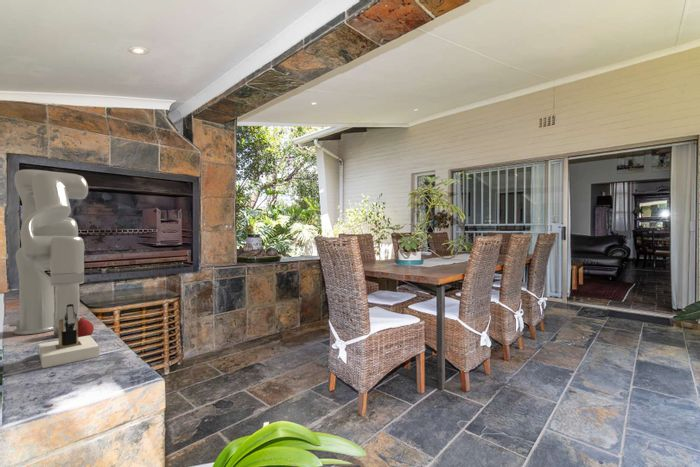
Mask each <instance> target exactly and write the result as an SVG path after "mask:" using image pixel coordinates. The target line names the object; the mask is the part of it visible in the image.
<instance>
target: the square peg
mask: <svg viewBox="0 0 700 467" xmlns="http://www.w3.org/2000/svg"><path fill="white" fill-rule="evenodd" d="M75 318H77V317H75ZM65 320H68V319H67V318H65ZM78 321H79V317H78V318H77V319H76V332H77V343H76V344H72V345H66V346H62V331H63V319H62V320H60V321H58V322H59V337H58V341H59V349H61V348H67V347H72V346H78ZM66 323H67V322H66Z"/></svg>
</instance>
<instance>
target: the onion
mask: <svg viewBox="0 0 700 467" xmlns="http://www.w3.org/2000/svg"><path fill="white" fill-rule="evenodd" d="M94 330H95V329H94V324H93V323H92V322H91V321H89V320H88V319H86V317H85V316H81V317H80V319H78V337H83V336H89V335H90V336H92V334H93V333H94Z"/></svg>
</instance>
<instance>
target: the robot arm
mask: <svg viewBox="0 0 700 467" xmlns="http://www.w3.org/2000/svg"><path fill="white" fill-rule="evenodd" d="M13 178H14V186H15V188H16V192H17V194H18V195H19V198H20V200H21V204H22V210H21V211H22V215H21V216H22V217H21V219H22V220H21V227H20V232H19V236H20V237H19V238H20V245H21V247H20V248H19V249H17V251H16V252H15V262H16V266H17V272H18V284H19V285H18V286H19V288H18V289H19V291H18V292H19V319H15V320H13V319H12V320H11V321H10V323H9V324H8V326H9V327H16V329H14V330H13V334H14V335H18V336H20V335H21V336H23V335H34V334H40V333H46V332H51V331H54V317H55V319H56V320H57V321H60V320H62V319H63V331H62V346H66V345H72V344H76V343H77V332H76V319H77V318H78V319H79V317H80V285H82V284H84V283H85V242H84V239H83V238H82V237H81V236H79V228H78V227H79V226H78V223H77V221H76V219H74V218H72V217H69V216H70V215H71V213H72V207H71V204H70V199H71V200H84V199H86V197H87V196H88V195H89V194H88V193H89V184H88V182H87V180H86V178H85V177H84V176H83V175H79V174H76V173H69V172H61V171H60V172H59V171H50V170H41V169H20V170H17V171H16V172H15V173H14V177H13ZM45 271H50V275H48V274H47V273H46V272H45ZM54 313H55V314H54ZM75 317H77V318H75ZM65 318H67V319H68V320H65ZM66 322H67V323H66Z"/></svg>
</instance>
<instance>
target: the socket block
mask: <svg viewBox="0 0 700 467" xmlns="http://www.w3.org/2000/svg"><path fill="white" fill-rule="evenodd" d="M38 356H39V359H40V364H41V367H42V369H47V368H50V367H55V366H56V367H57V366H60V365H61V366H62V365H66V364H70V363H74V362H80V361H84V360H89V359H93V358H98V357H100V345H99V344H98V343H97V342H96V340H94V338H93V337H92V335H89V336H83V337H78V346H72V347H67V348H61V349H59V340H54V341H53V340H52V341H48V342H42V343H38Z"/></svg>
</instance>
